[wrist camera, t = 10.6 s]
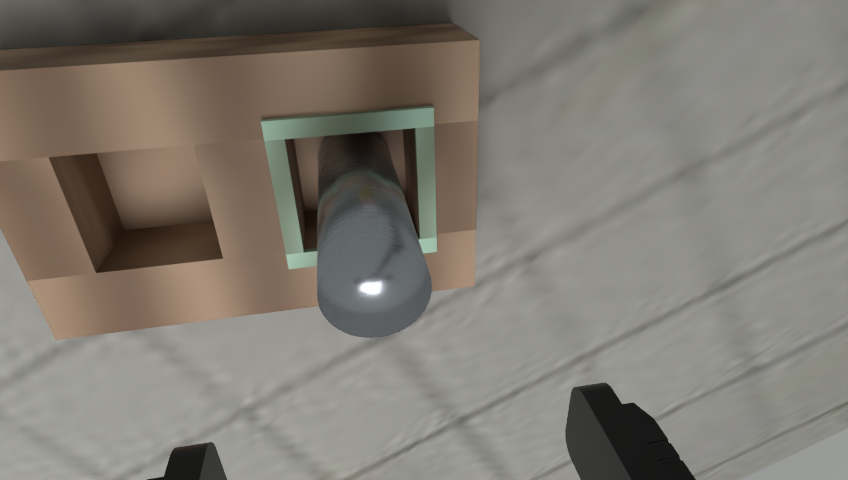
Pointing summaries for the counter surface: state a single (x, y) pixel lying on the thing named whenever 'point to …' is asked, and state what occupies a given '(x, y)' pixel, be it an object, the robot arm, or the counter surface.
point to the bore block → (222, 166)
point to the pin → (366, 240)
